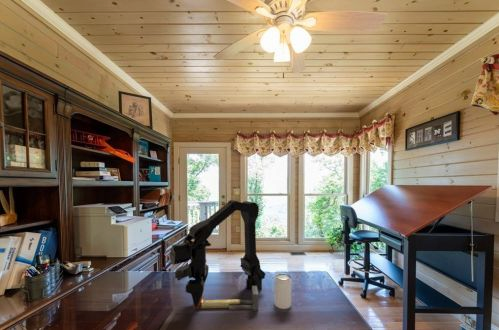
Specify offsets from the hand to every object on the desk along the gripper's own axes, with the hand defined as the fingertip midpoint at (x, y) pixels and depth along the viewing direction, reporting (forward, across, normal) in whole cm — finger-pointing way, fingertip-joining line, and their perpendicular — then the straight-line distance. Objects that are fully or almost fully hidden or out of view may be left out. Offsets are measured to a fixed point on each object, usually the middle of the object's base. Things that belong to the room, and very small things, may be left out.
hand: (197, 299), depth 95 cm
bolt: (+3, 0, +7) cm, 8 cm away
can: (+4, 0, +33) cm, 33 cm away
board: (+4, 0, +12) cm, 13 cm away
